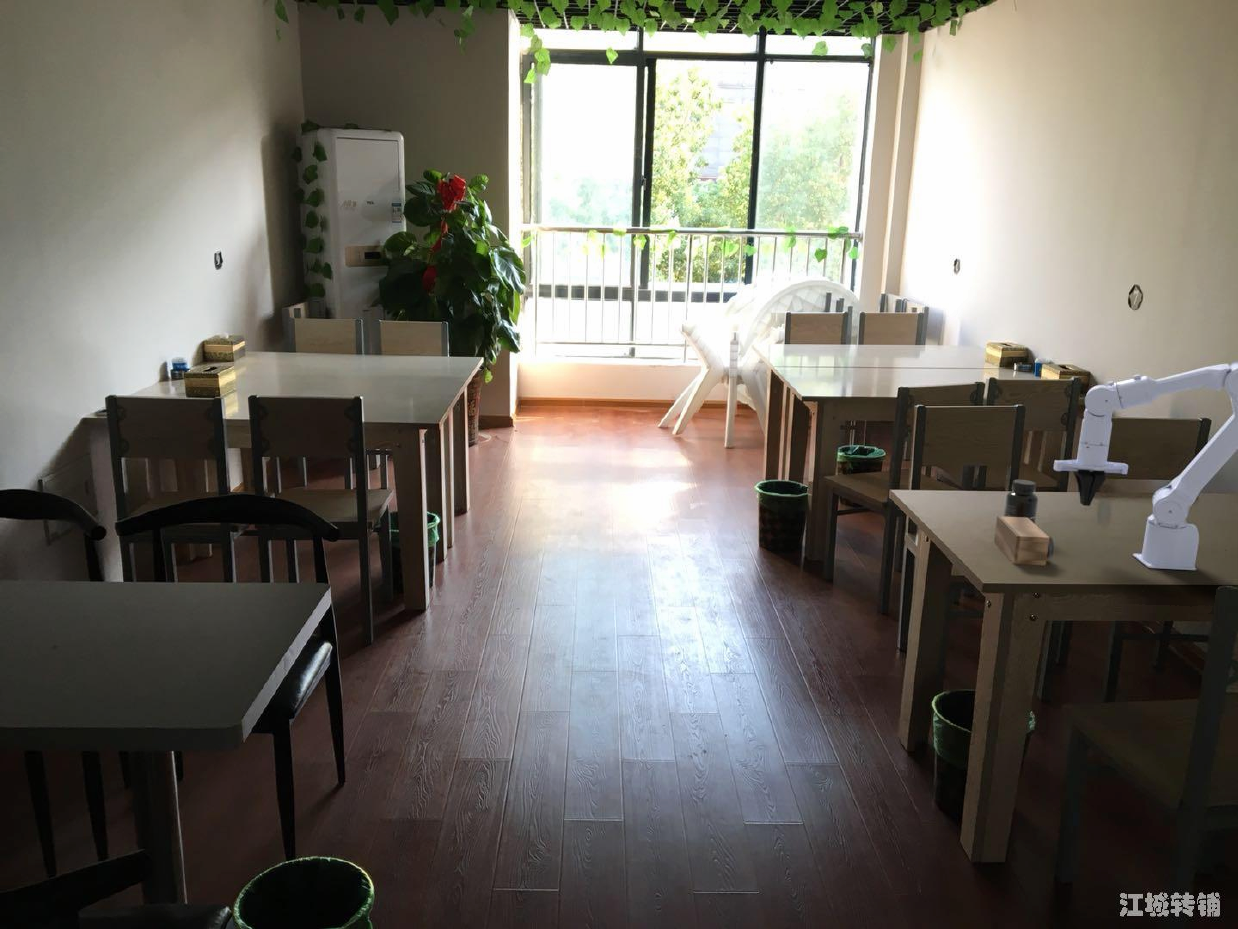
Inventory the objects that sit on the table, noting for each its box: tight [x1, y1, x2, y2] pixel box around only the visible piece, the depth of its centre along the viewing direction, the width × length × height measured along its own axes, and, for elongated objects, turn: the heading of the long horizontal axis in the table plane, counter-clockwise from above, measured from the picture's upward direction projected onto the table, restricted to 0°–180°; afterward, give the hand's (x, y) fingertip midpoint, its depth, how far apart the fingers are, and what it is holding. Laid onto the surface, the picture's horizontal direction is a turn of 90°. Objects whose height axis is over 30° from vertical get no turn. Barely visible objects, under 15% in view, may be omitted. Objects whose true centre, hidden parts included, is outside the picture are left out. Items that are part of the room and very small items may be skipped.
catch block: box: [993, 515, 1049, 566], centre depth 210 cm, size 6×14×6 cm, turn 175°
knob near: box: [1047, 535, 1054, 559], centre depth 206 cm, size 7×5×5 cm
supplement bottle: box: [1003, 479, 1039, 525], centre depth 224 cm, size 7×7×12 cm
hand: (1085, 504), depth 211 cm, fingers closed
